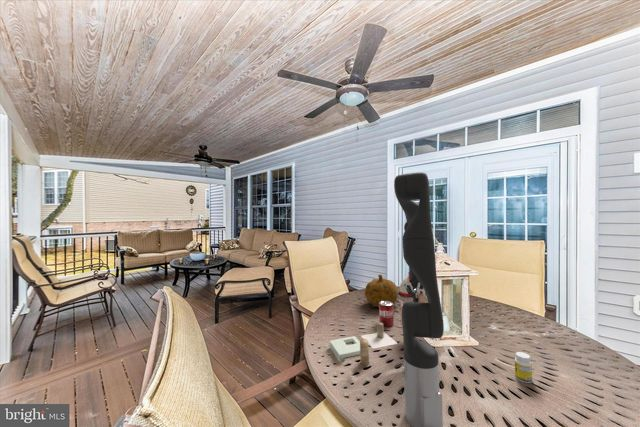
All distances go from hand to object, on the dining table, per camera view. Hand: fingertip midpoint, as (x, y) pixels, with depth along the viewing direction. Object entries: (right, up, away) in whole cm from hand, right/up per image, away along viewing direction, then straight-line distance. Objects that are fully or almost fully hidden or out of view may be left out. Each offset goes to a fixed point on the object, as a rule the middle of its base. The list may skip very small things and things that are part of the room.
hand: (419, 305), depth 114 cm
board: (-17, -18, +3) cm, 25 cm away
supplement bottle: (+27, -17, -24) cm, 40 cm away
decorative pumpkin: (-5, -18, +49) cm, 52 cm away
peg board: (-32, -19, -3) cm, 37 cm away
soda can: (-9, -18, +19) cm, 28 cm away
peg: (-26, -19, -14) cm, 35 cm away
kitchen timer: (+20, -16, +70) cm, 75 cm away
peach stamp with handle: (0, -10, 0) cm, 10 cm away
